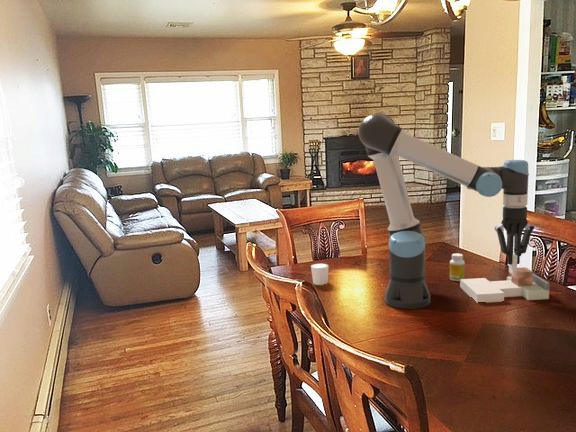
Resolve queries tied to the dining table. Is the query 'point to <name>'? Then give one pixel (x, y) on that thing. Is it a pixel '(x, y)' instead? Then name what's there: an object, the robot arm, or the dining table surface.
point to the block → (523, 277)
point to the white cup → (320, 273)
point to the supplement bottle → (457, 267)
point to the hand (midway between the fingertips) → (512, 273)
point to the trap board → (504, 289)
